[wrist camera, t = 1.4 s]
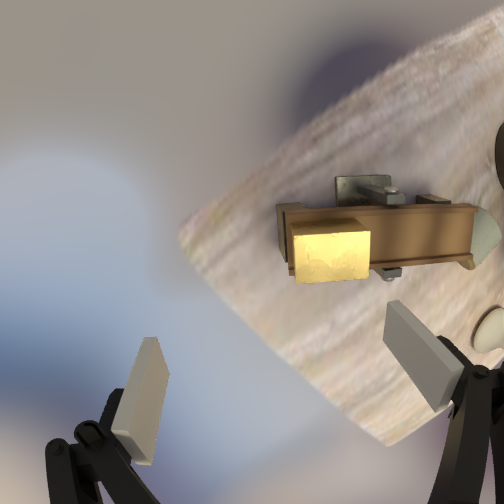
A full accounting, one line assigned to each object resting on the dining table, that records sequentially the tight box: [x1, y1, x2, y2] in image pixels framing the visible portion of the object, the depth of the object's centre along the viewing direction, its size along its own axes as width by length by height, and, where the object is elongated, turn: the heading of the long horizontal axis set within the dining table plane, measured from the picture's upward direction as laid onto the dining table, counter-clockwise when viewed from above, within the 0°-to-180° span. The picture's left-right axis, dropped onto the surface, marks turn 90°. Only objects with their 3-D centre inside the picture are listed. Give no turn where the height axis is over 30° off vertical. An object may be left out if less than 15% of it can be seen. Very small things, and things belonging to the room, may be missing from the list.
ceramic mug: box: [457, 206, 502, 270], centre depth 37 cm, size 11×8×8 cm
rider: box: [291, 219, 370, 284], centre depth 28 cm, size 7×5×5 cm, turn 96°
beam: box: [285, 204, 478, 276], centre depth 30 cm, size 24×7×2 cm, turn 95°
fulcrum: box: [276, 175, 451, 281], centre depth 34 cm, size 24×12×9 cm, turn 96°
